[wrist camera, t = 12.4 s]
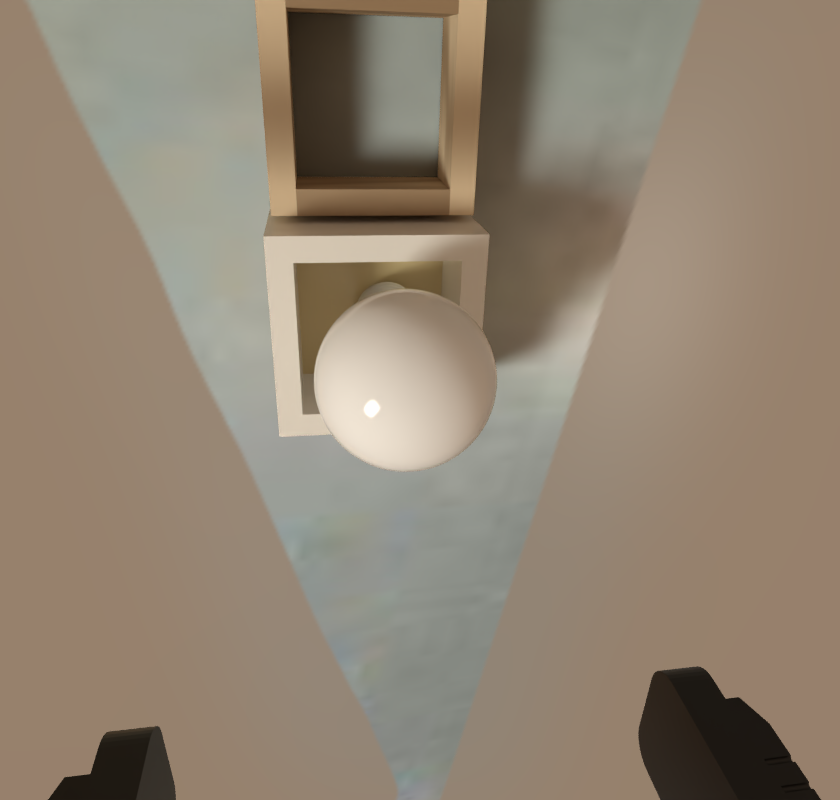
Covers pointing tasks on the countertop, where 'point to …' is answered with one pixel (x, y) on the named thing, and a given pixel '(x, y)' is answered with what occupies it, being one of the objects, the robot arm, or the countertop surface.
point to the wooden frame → (377, 196)
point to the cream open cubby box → (356, 285)
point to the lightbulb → (405, 378)
